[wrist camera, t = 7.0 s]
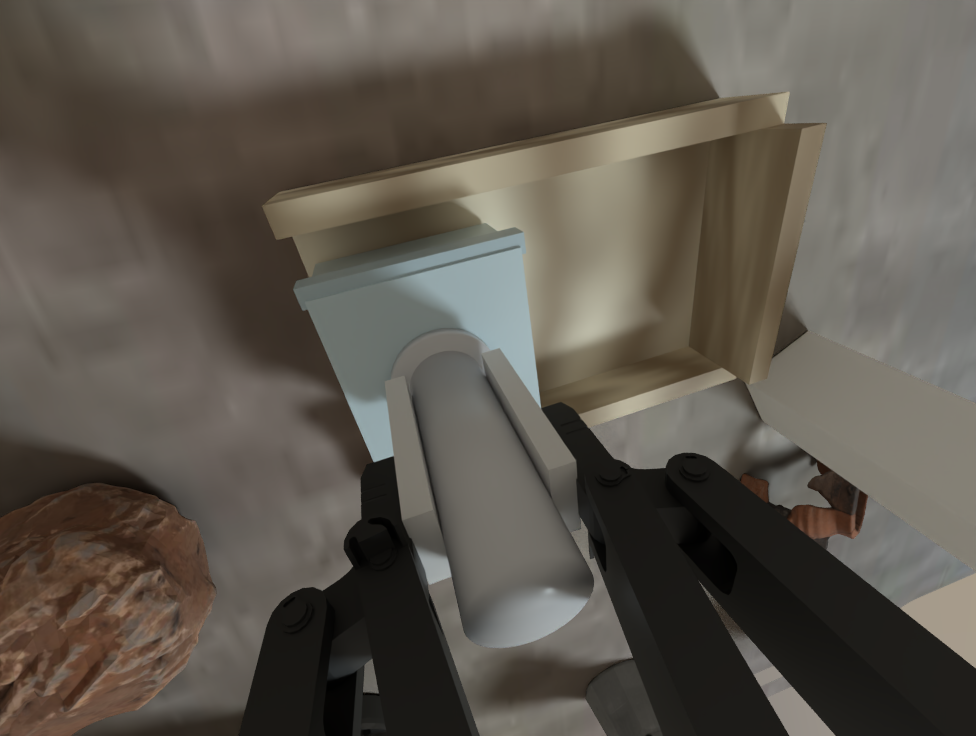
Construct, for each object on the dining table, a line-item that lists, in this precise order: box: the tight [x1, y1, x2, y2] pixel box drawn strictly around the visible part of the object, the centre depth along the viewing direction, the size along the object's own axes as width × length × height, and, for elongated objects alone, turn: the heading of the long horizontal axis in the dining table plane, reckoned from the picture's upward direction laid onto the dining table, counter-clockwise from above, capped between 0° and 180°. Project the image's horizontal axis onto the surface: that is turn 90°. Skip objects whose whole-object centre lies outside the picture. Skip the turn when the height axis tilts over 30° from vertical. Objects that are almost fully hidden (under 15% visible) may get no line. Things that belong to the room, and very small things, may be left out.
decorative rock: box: [0, 483, 217, 736], centre depth 20 cm, size 13×11×10 cm
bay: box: [262, 92, 827, 428], centre depth 22 cm, size 22×18×6 cm
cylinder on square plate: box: [293, 223, 594, 648], centre depth 15 cm, size 8×10×15 cm
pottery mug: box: [741, 460, 868, 550], centre depth 39 cm, size 12×10×8 cm
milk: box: [746, 331, 976, 571], centre depth 24 cm, size 6×6×22 cm
